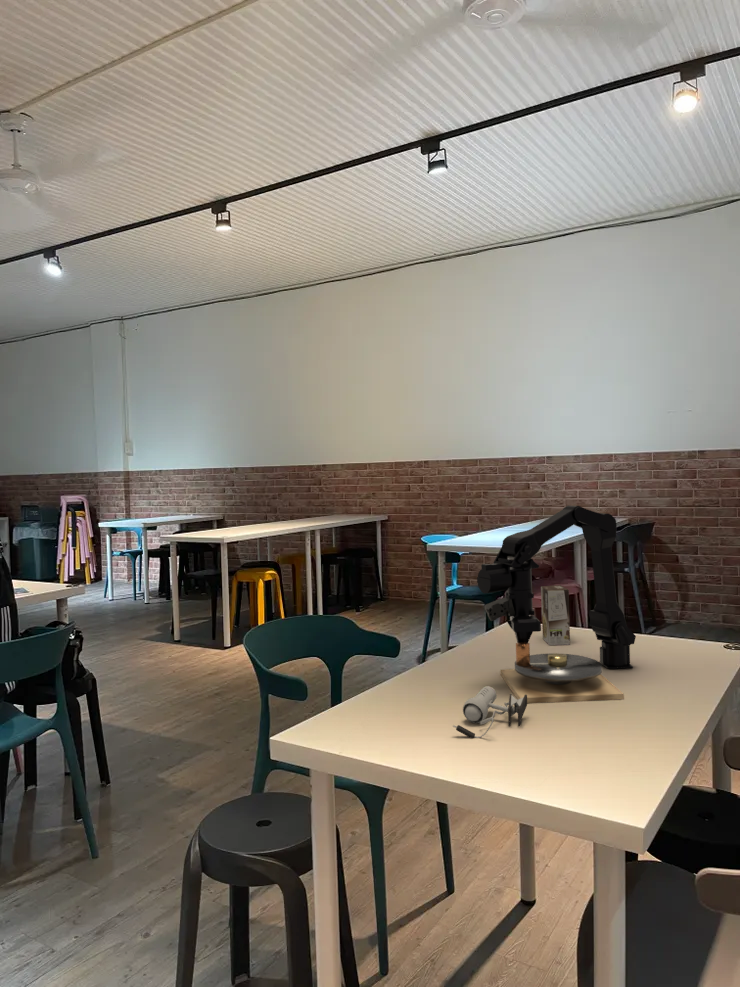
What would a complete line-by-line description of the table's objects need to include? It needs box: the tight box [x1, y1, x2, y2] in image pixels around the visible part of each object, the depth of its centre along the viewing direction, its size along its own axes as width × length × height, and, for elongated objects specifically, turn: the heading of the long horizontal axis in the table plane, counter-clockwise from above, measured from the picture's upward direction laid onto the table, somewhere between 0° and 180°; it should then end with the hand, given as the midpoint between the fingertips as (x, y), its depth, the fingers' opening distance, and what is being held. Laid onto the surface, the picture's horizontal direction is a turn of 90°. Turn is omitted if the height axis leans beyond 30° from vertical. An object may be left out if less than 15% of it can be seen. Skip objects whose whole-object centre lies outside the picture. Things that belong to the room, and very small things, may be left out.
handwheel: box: [514, 642, 603, 682], centre depth 173 cm, size 20×20×6 cm
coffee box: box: [540, 584, 571, 646], centre depth 216 cm, size 9×6×16 cm
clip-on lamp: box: [452, 685, 528, 739], centre depth 149 cm, size 12×6×18 cm
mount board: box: [499, 668, 625, 704], centre depth 173 cm, size 23×23×4 cm
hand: (521, 651), depth 177 cm, fingers closed
